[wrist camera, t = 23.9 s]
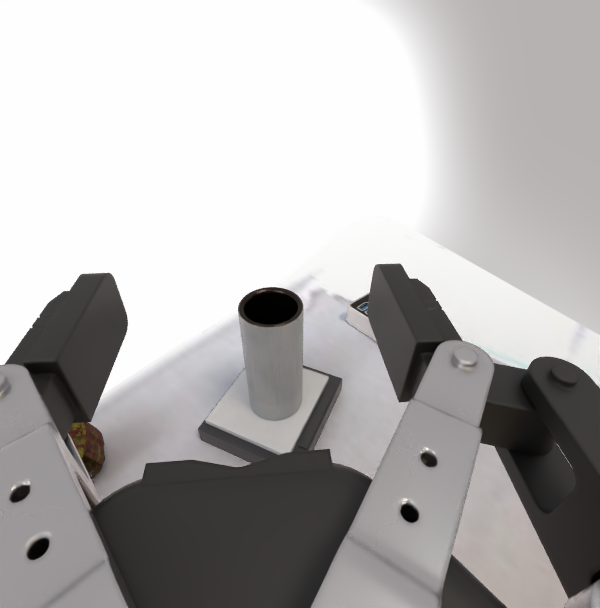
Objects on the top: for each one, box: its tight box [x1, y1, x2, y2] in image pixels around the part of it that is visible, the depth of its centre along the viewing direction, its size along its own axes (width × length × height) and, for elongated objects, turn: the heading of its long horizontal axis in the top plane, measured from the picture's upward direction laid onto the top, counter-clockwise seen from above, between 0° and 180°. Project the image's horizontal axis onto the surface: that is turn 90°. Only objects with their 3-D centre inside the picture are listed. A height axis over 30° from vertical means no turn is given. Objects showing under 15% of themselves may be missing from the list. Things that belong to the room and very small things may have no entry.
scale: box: [198, 366, 342, 463], centre depth 33 cm, size 10×9×2 cm
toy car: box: [68, 422, 105, 479], centre depth 25 cm, size 12×7×5 cm
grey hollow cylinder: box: [238, 287, 303, 420], centre depth 29 cm, size 4×4×10 cm
